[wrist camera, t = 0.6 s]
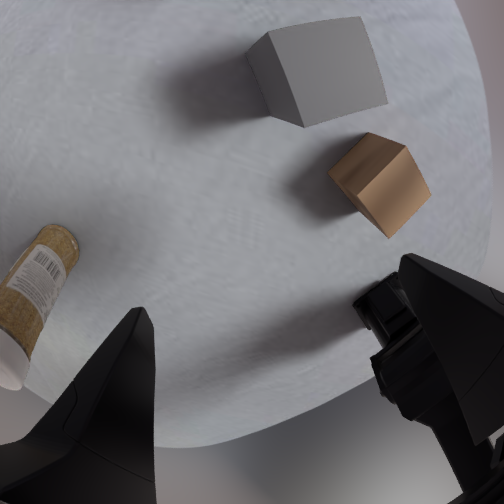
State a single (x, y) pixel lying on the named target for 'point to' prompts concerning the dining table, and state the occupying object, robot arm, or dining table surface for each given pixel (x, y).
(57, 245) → the sprinkles bottle
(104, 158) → the dining table surface
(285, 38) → the gray block
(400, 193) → the walnut cube
